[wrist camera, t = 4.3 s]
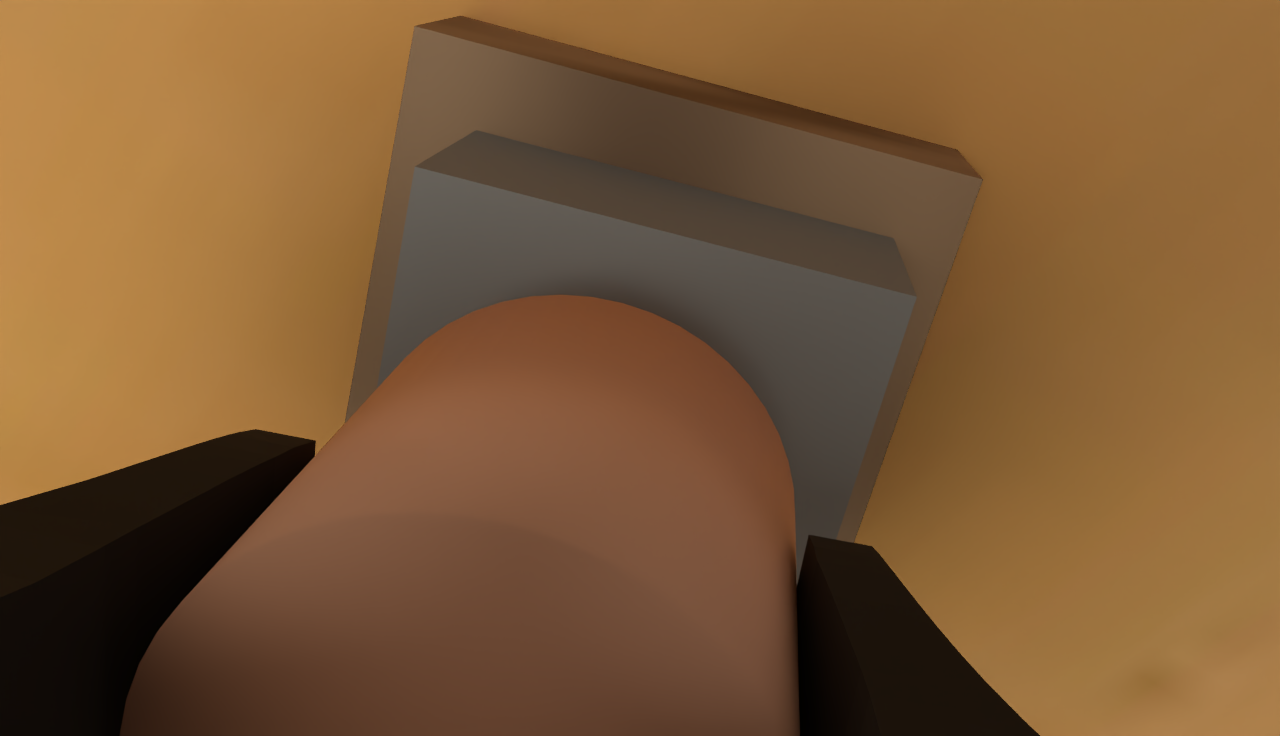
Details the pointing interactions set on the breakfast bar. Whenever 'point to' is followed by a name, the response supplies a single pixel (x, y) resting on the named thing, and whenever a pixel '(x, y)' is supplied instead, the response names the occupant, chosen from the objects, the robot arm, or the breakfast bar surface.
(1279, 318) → the breakfast bar surface
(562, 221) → the charcoal block
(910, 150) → the walnut slab
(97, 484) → the robot arm
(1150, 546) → the breakfast bar surface
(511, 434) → the salmon cylinder
